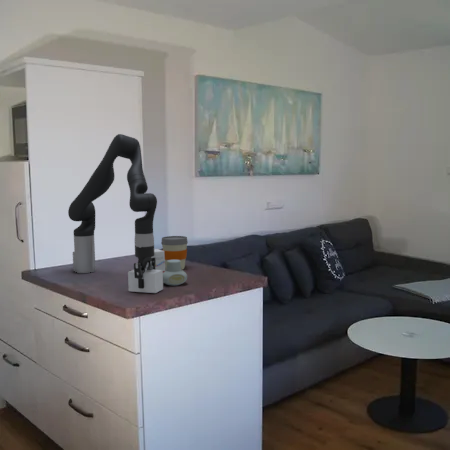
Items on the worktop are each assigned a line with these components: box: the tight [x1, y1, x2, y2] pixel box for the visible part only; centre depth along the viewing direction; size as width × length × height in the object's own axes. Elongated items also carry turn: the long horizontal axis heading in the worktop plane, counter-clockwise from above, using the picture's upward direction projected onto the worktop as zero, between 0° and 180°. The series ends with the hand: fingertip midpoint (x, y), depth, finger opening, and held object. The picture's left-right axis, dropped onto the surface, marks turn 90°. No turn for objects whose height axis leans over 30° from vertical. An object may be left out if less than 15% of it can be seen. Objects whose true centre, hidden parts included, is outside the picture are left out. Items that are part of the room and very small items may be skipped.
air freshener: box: [163, 260, 188, 287], centre depth 211 cm, size 11×8×10 cm
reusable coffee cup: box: [160, 235, 188, 271], centre depth 243 cm, size 13×12×15 cm
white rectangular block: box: [127, 269, 164, 294], centre depth 200 cm, size 12×7×8 cm, turn 72°
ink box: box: [153, 248, 166, 273], centre depth 227 cm, size 9×5×12 cm, turn 33°
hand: (145, 286), depth 200 cm, fingers closed on white rectangular block, 6 cm apart
